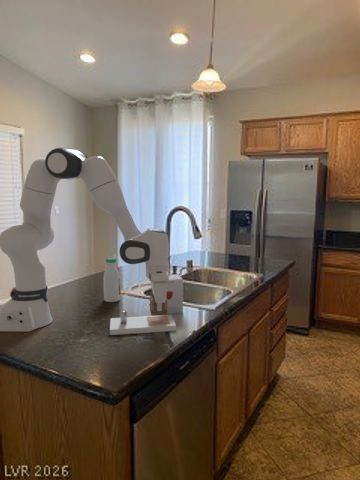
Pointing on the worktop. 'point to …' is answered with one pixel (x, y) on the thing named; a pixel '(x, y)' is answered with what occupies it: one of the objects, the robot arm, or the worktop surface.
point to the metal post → (123, 317)
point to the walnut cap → (154, 307)
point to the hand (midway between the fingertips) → (158, 307)
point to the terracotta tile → (158, 320)
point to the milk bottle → (111, 281)
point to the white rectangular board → (139, 325)
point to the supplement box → (174, 294)
